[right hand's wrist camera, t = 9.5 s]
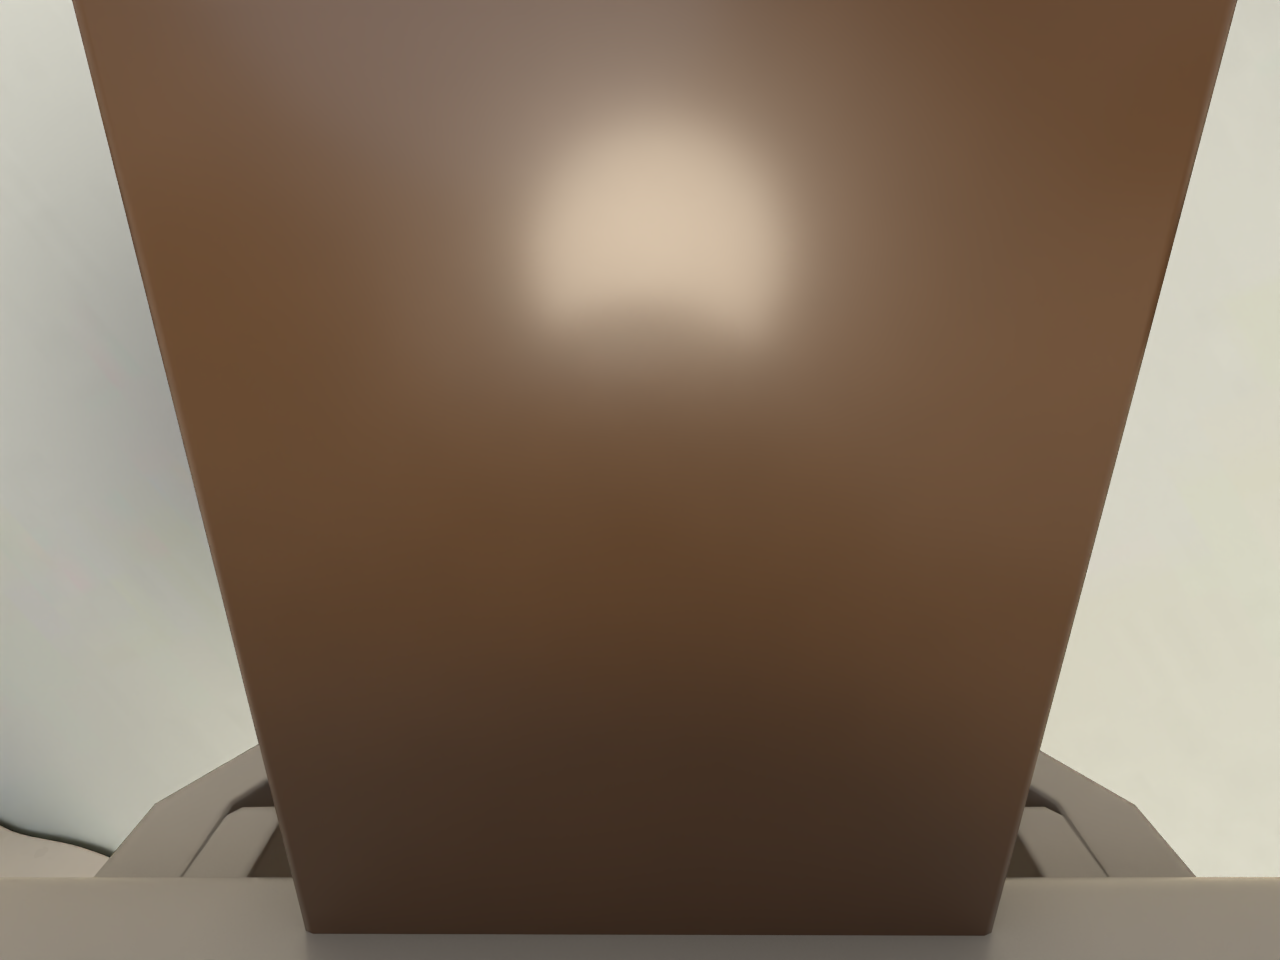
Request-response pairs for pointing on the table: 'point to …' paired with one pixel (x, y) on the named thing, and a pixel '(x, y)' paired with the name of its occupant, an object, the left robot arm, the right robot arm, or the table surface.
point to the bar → (652, 426)
